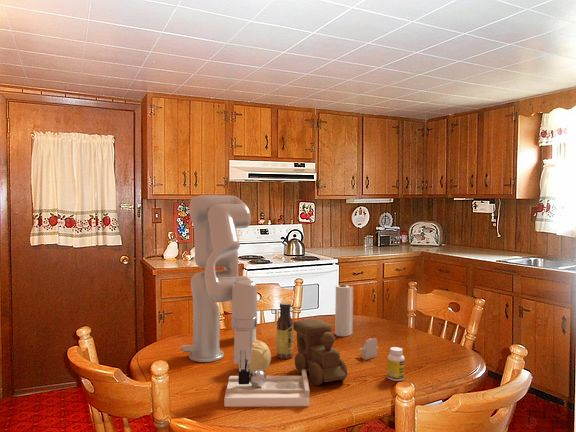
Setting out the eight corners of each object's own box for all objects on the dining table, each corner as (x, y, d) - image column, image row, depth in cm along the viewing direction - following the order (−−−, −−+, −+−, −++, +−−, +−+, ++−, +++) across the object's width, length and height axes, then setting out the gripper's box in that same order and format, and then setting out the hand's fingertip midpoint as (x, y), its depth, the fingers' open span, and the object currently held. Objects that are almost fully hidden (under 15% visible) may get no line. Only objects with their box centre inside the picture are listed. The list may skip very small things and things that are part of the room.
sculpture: (230, 374, 153) (230, 342, 153) (246, 362, 164) (246, 332, 164) (261, 379, 149) (261, 346, 149) (275, 367, 160) (275, 336, 160)
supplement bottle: (401, 382, 147) (401, 352, 147) (384, 379, 150) (385, 349, 150) (406, 377, 152) (406, 348, 152) (390, 373, 155) (391, 345, 154)
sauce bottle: (291, 360, 167) (291, 306, 166) (274, 358, 168) (274, 305, 168) (294, 354, 174) (295, 302, 173) (278, 353, 175) (278, 301, 174)
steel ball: (246, 377, 135) (262, 373, 134) (248, 368, 140) (264, 364, 139) (251, 392, 135) (267, 388, 135) (253, 383, 140) (269, 379, 140)
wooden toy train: (290, 368, 159) (290, 321, 158) (318, 363, 164) (319, 317, 163) (319, 390, 141) (320, 337, 140) (350, 384, 146) (351, 332, 145)
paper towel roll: (333, 336, 197) (334, 286, 196) (336, 332, 203) (337, 284, 202) (350, 337, 195) (351, 287, 194) (352, 333, 201) (353, 285, 200)
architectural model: (359, 358, 171) (359, 338, 171) (372, 354, 175) (372, 335, 175) (365, 360, 168) (365, 340, 168) (379, 357, 172) (379, 337, 172)
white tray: (224, 406, 129) (224, 390, 129) (229, 383, 145) (229, 369, 145) (309, 406, 130) (309, 390, 130) (305, 383, 146) (305, 369, 146)
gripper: (234, 316, 144) (233, 373, 145) (229, 329, 129) (228, 393, 130) (258, 316, 144) (257, 373, 145) (255, 329, 129) (255, 393, 130)
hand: (244, 383), depth 137 cm, fingers closed
